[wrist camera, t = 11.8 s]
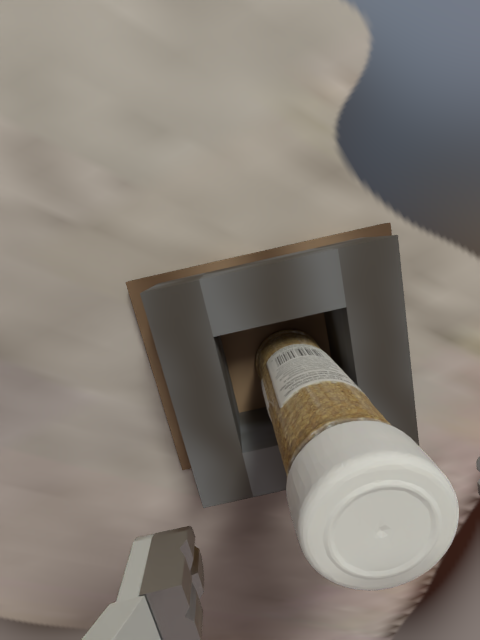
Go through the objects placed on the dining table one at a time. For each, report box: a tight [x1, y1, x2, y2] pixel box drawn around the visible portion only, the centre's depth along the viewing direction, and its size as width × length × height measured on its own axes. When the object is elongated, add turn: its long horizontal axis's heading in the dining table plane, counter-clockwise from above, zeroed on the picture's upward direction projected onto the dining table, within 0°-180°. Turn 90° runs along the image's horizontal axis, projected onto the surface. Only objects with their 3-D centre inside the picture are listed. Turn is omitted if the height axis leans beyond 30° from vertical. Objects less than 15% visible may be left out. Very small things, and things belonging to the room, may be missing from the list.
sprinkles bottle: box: [255, 329, 459, 591], centre depth 15 cm, size 5×5×13 cm
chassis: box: [126, 223, 419, 508], centre depth 20 cm, size 17×14×6 cm
